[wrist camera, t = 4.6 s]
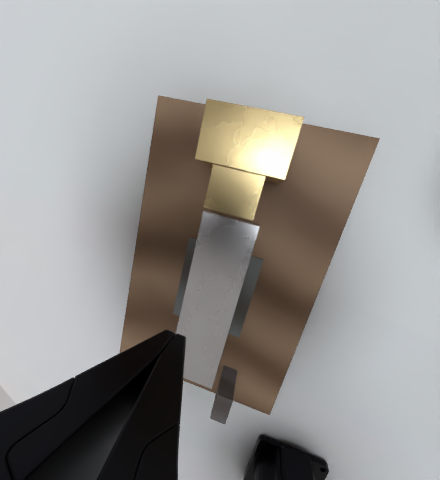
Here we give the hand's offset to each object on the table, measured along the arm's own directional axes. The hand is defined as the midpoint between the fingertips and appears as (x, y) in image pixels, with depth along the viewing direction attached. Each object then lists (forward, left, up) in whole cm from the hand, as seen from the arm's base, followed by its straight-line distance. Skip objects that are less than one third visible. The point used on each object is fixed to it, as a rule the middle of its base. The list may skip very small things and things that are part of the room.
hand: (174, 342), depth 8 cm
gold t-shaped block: (+7, 0, -8) cm, 11 cm away
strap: (-3, 0, -9) cm, 9 cm away
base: (0, 0, -10) cm, 10 cm away
